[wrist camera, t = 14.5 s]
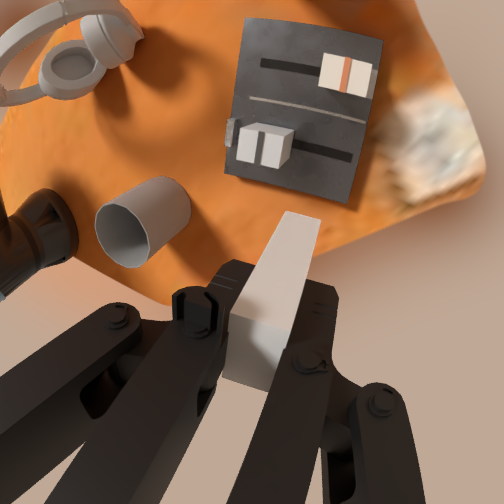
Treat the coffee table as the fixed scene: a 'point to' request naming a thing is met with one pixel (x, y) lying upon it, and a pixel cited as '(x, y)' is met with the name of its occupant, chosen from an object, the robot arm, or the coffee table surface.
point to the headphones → (71, 48)
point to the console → (301, 104)
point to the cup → (142, 220)
